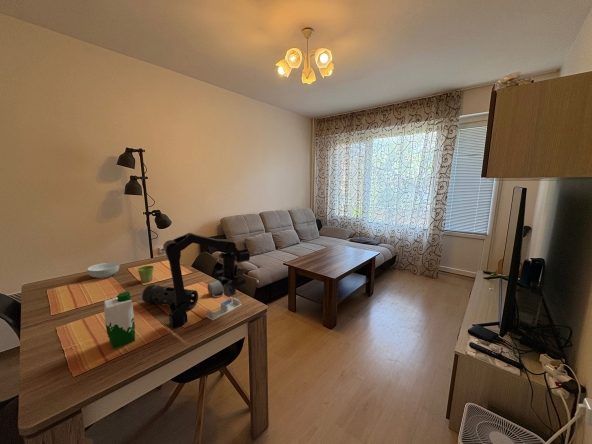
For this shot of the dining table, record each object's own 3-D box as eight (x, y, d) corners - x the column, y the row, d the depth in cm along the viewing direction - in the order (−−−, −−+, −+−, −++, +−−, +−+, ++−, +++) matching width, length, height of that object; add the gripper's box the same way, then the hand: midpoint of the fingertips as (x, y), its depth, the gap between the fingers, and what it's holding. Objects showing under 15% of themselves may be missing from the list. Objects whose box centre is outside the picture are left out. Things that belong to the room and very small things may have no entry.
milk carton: (138, 341, 96) (132, 296, 92) (110, 352, 89) (103, 304, 86) (133, 331, 102) (128, 288, 98) (107, 340, 95) (101, 295, 92)
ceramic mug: (207, 293, 137) (206, 280, 135) (221, 289, 141) (220, 277, 140) (212, 301, 128) (211, 288, 127) (227, 297, 133) (226, 284, 131)
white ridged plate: (212, 321, 109) (212, 315, 109) (204, 316, 113) (204, 310, 112) (242, 305, 124) (241, 300, 123) (233, 301, 127) (233, 296, 127)
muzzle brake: (187, 314, 115) (186, 295, 113) (140, 307, 121) (137, 289, 119) (199, 304, 124) (198, 286, 122) (154, 298, 130) (152, 281, 128)
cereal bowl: (124, 274, 160) (123, 265, 159) (94, 283, 147) (92, 272, 145) (114, 269, 169) (112, 260, 168) (84, 277, 155) (83, 267, 154)
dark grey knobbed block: (229, 297, 117) (228, 284, 116) (224, 295, 119) (223, 281, 118) (236, 294, 120) (235, 281, 119) (231, 291, 123) (230, 279, 121)
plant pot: (139, 278, 154) (138, 266, 153) (156, 276, 158) (154, 264, 156) (136, 284, 146) (135, 271, 144) (154, 282, 150) (153, 269, 148)
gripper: (253, 264, 118) (254, 292, 121) (230, 256, 129) (230, 283, 131) (236, 270, 109) (237, 301, 112) (212, 262, 120) (213, 290, 123)
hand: (229, 293), depth 120 cm, fingers closed on dark grey knobbed block, 4 cm apart
